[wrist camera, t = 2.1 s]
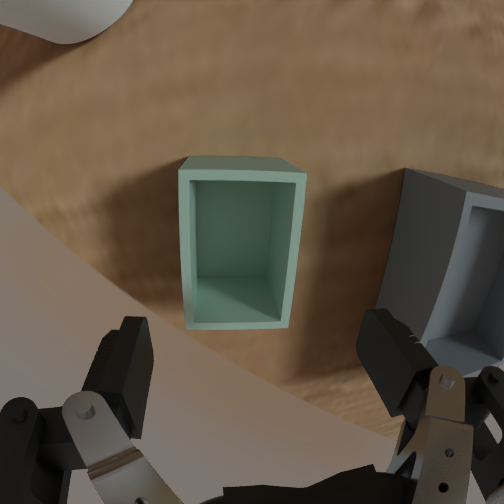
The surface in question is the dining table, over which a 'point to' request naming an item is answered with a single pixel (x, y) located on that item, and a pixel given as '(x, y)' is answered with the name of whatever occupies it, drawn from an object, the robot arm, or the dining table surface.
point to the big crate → (449, 269)
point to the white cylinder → (62, 17)
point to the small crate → (239, 240)
